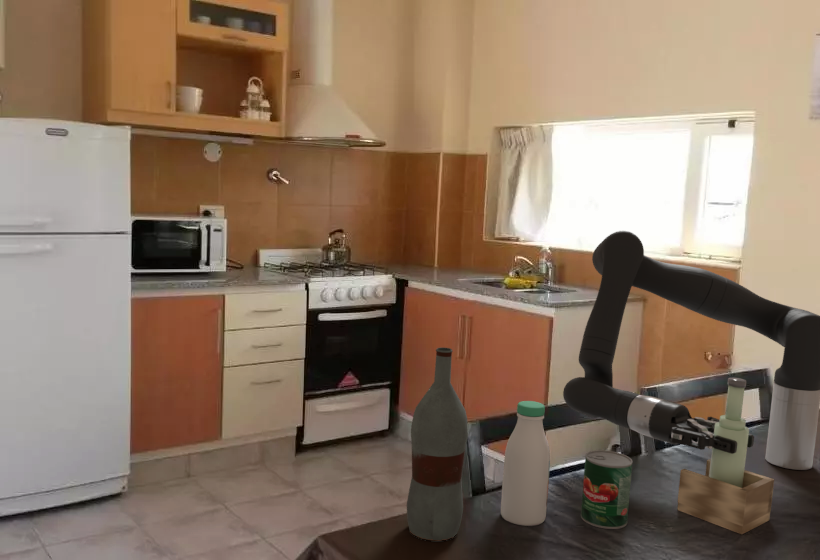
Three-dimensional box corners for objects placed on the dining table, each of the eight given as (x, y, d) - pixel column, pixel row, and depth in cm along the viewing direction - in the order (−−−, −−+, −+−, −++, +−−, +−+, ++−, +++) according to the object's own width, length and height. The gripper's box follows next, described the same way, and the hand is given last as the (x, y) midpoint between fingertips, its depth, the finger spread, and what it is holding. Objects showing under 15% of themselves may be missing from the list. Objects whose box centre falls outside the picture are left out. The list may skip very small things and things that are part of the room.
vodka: (417, 514, 133) (427, 340, 130) (468, 525, 130) (480, 347, 126) (396, 535, 125) (406, 350, 121) (451, 548, 121) (463, 358, 118)
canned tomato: (628, 514, 138) (634, 454, 136) (625, 532, 130) (631, 469, 129) (583, 506, 140) (588, 447, 139) (577, 523, 133) (582, 461, 131)
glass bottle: (702, 495, 142) (715, 374, 140) (733, 497, 142) (748, 377, 139) (711, 507, 137) (726, 382, 134) (744, 510, 137) (759, 385, 134)
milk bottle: (544, 530, 130) (554, 412, 127) (498, 523, 131) (506, 407, 129) (546, 511, 137) (555, 400, 135) (502, 505, 139) (510, 395, 136)
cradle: (676, 510, 141) (680, 470, 140) (706, 497, 148) (710, 459, 147) (741, 534, 132) (746, 492, 131) (769, 520, 139) (774, 479, 138)
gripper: (638, 405, 144) (726, 430, 131) (680, 394, 153) (766, 417, 140) (634, 444, 145) (721, 473, 132) (676, 431, 154) (761, 457, 141)
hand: (744, 444), depth 136 cm, fingers closed on glass bottle, 5 cm apart
